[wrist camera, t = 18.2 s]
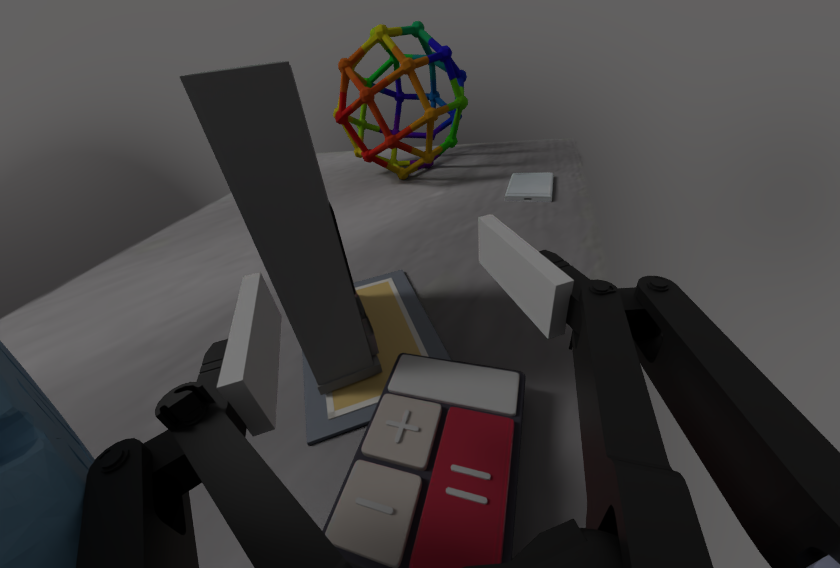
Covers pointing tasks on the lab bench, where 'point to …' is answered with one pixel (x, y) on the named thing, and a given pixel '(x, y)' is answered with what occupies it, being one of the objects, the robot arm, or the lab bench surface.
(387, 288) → the picture board
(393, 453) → the calculator
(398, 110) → the geometric model
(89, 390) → the lab bench surface
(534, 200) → the hard drive
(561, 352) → the lab bench surface
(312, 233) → the grey instrument box
